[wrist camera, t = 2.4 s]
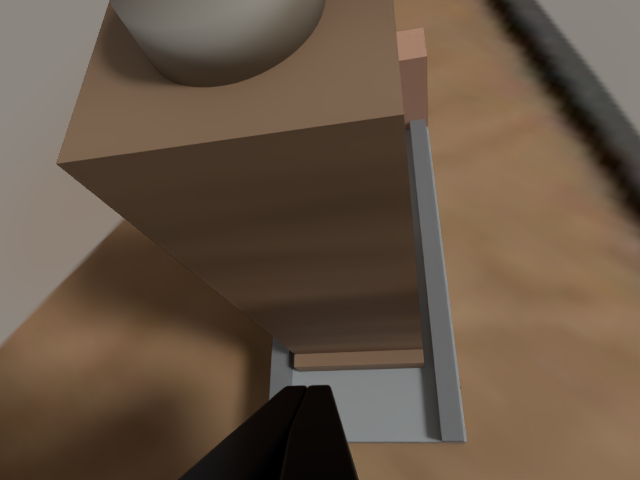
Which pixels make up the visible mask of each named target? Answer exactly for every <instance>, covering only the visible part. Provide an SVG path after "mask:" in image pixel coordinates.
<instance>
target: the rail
mask: <svg viewBox="0 0 640 480" xmlns="http://www.w3.org/2000/svg"><path fill="white" fill-rule="evenodd" d="M396 35H397V46H398V56H399V67H400V77H401V88H402V98H403V109H404V120H405V132H406V145H407V157H408V170H409V182H410V195H411V207H412V219H413V232H414V244H415V257H416V269H417V282H418V294H419V307H420V319H421V331H422V344H423V355H424V367H425V368H403V369H371V370H339V371H307V372H300V371H299V370H298V369H296V368H295V367H294V357H295V354H294V353H292V352H291V351H290V350H289V349H287V348H286V347H285V346H284V345H282V344H281V343H280V342H279V341H277V340H276V339H275V338H274V337H273V341H272V358H271V376H270V394H269V400H270V399H271V398H272V397H273V396H275V395H276V394H277V393H278V392H279V391H280V390H282V389H283V388H284V387H285V386H296V385H305V386H307V387H309V386H311V385H329V386H330V387H331V389H332V392H333V395H334V399H335V402H336V405H337V409H338V412H339V415H340V419H341V422H342V425H343V429H344V432H345V435H346V439H347V442H348V443H465V442H467V439H466V431H465V423H464V415H463V407H462V399H461V391H460V383H459V375H458V366H457V358H456V350H455V342H454V334H453V326H452V318H451V310H450V302H449V294H448V286H447V277H446V269H445V261H444V253H443V245H442V237H441V229H440V221H439V213H438V205H437V197H436V189H435V180H434V172H433V164H432V156H431V148H430V140H429V132H428V97H427V53H426V45H425V38H424V30H423V28H417V29H411V30H406V31H400V32H396Z"/></svg>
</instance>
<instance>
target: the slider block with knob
mask: <svg viewBox="0 0 640 480" xmlns="http://www.w3.org/2000/svg"><path fill="white" fill-rule="evenodd" d="M56 164H57V165H58V166H60V167H61V168H62V169H63V170H65V171H66V172H67V173H68V174H70V175H71V176H72V177H74V178H75V179H76V180H77V181H78V182H80V183H81V184H82V185H83V186H85V187H86V188H87V189H88V190H90V191H91V192H92V193H93V194H95V195H96V196H97V197H98V198H100V199H101V200H102V201H103V202H105V203H106V204H107V205H108V206H110V207H111V208H112V209H113V210H115V211H116V212H117V213H118V214H120V215H121V216H122V217H123V218H125V219H126V220H127V221H128V222H130V223H131V224H132V225H133V226H135V227H136V228H137V229H138V230H140V231H141V232H142V233H143V234H145V235H146V236H147V237H148V238H150V239H151V240H152V241H153V242H155V243H156V244H157V245H158V246H160V247H161V248H162V249H163V250H165V251H166V252H167V253H168V254H170V255H171V256H172V257H173V258H175V259H176V260H177V261H178V262H180V263H181V264H182V265H183V266H185V267H186V268H187V269H188V270H190V271H191V272H192V273H193V274H195V275H196V276H197V277H198V278H200V279H201V280H202V281H203V282H205V283H206V284H207V285H208V286H210V287H211V288H212V289H213V290H215V291H216V292H217V293H218V294H220V295H221V296H222V297H223V298H225V299H226V300H227V301H229V302H230V303H231V304H232V305H234V306H235V307H236V308H237V309H239V310H240V311H241V312H242V313H244V314H245V315H246V316H247V317H249V318H250V319H251V320H252V321H254V322H255V323H256V324H257V325H259V326H260V327H261V328H262V329H264V330H265V331H266V332H267V333H269V334H270V335H271V336H272V337H274V338H275V339H276V340H277V341H279V342H280V343H281V344H282V345H284V346H285V347H286V348H287V349H289V350H290V351H291V352H292V353H294V354H295V357H294V367H295V368H296V369H298V370H299V371H300V372H307V371H339V370H371V369H403V368H425V367H424V355H423V344H422V331H421V319H420V307H419V294H418V282H417V269H416V257H415V244H414V232H413V219H412V207H411V195H410V182H409V170H408V157H407V145H406V132H405V120H404V109H403V98H402V88H401V77H400V67H399V56H398V46H397V35H396V24H395V14H394V3H393V0H110V2H109V4H108V8H107V10H106V14H105V17H104V20H103V23H102V26H101V29H100V32H99V35H98V38H97V41H96V44H95V47H94V50H93V53H92V56H91V59H90V62H89V65H88V68H87V71H86V75H85V77H84V81H83V83H82V87H81V90H80V93H79V96H78V99H77V102H76V105H75V108H74V111H73V114H72V117H71V120H70V123H69V126H68V129H67V132H66V135H65V138H64V142H63V144H62V147H61V150H60V153H59V156H58V159H57V163H56Z"/></svg>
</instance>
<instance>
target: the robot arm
mask: <svg viewBox="0 0 640 480" xmlns="http://www.w3.org/2000/svg"><path fill="white" fill-rule="evenodd" d="M178 480H359V479H358V476H357V472H356V469H355V466H354V462H353V459H352V455H351V452H350V449H349V445H348V442H347V439H346V435H345V432H344V429H343V425H342V422H341V419H340V415H339V412H338V409H337V405H336V402H335V399H334V395H333V392H332V389H331V387H330V386H329V385H311V386H309V387H307V386H305V385H296V386H285V387H284V388H283V389H282V390H280V391H279V392H278V393H277V394H276V395H275V396H273V397H272V398H271V399H270V400H269V401H268V402H267V403H265V404H264V405H263V406H262V407H261V408H260V409H259V410H257V411H256V412H255V413H254V414H253V415H252V416H250V417H249V418H248V419H247V420H246V421H245V422H244V423H242V424H241V425H240V426H239V427H238V428H237V429H236V430H234V431H233V432H232V433H231V434H230V435H229V436H227V437H226V438H225V439H224V440H223V441H222V442H221V443H219V444H218V445H217V446H216V447H215V448H214V449H213V450H211V451H210V452H209V453H208V454H207V455H206V456H204V457H203V458H202V459H201V460H200V461H199V462H198V463H196V464H195V465H194V466H193V467H192V468H191V469H190V470H188V471H187V472H186V473H185V474H184V475H183V476H182V477H180V478H179V479H178Z"/></svg>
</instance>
